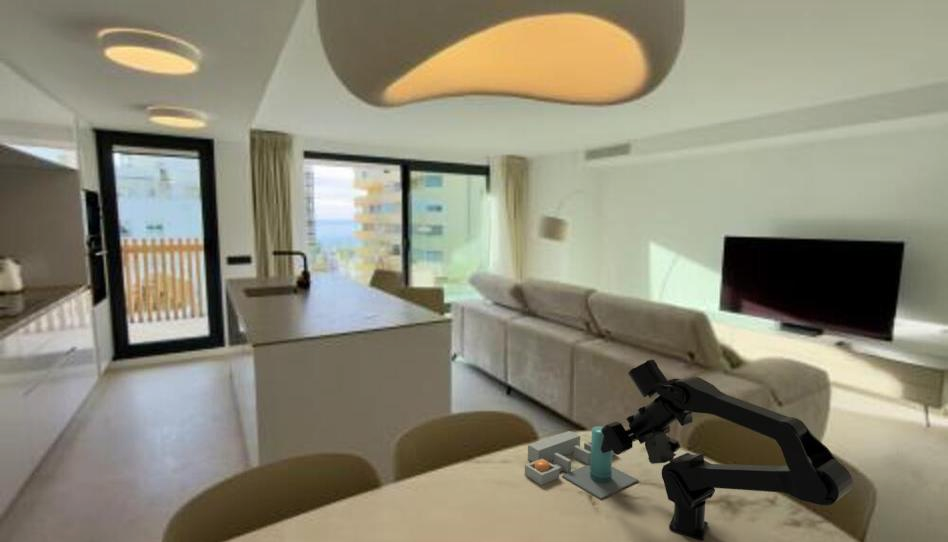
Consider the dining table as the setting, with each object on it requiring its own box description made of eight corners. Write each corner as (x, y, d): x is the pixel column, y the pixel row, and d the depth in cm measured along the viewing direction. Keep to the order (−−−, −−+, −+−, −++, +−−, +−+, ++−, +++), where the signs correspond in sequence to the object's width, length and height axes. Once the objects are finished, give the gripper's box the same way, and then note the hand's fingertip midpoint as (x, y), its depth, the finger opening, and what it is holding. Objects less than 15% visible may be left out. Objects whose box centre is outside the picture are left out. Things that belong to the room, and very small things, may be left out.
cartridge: (607, 485, 111) (609, 437, 110) (586, 478, 114) (588, 431, 113) (614, 476, 116) (616, 429, 115) (593, 470, 118) (595, 424, 118)
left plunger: (545, 480, 113) (545, 468, 113) (531, 475, 115) (532, 463, 115) (551, 473, 116) (551, 462, 116) (538, 469, 118) (538, 458, 118)
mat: (638, 481, 114) (638, 479, 114) (600, 499, 106) (601, 497, 106) (599, 461, 124) (599, 460, 124) (562, 476, 116) (562, 475, 116)
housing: (615, 454, 128) (616, 440, 128) (541, 485, 112) (541, 469, 111) (583, 439, 137) (583, 426, 137) (510, 465, 121) (510, 450, 121)
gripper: (655, 462, 92) (608, 491, 101) (705, 439, 103) (658, 468, 112) (622, 411, 98) (581, 443, 107) (673, 394, 109) (631, 425, 118)
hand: (614, 446), depth 111 cm, fingers open, 9 cm apart
